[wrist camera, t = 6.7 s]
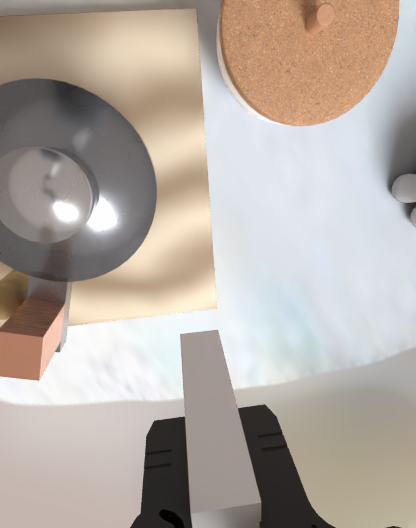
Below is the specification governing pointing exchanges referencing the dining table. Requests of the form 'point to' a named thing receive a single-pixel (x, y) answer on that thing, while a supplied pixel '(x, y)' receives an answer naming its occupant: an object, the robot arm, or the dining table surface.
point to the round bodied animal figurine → (406, 191)
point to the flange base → (154, 136)
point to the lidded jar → (303, 55)
